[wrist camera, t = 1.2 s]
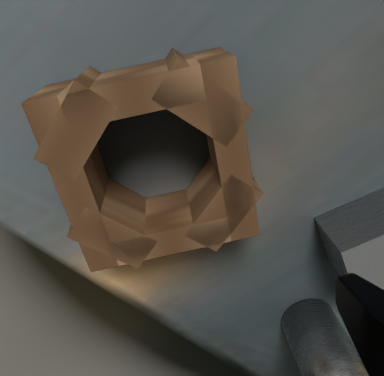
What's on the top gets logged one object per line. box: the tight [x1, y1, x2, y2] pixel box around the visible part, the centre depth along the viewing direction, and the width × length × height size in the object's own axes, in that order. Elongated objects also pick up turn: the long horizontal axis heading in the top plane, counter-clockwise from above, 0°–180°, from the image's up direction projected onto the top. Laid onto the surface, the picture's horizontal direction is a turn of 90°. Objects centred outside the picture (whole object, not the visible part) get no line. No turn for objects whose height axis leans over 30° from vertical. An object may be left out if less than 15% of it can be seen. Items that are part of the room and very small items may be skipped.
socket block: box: [21, 47, 263, 272], centre depth 19 cm, size 10×10×4 cm
